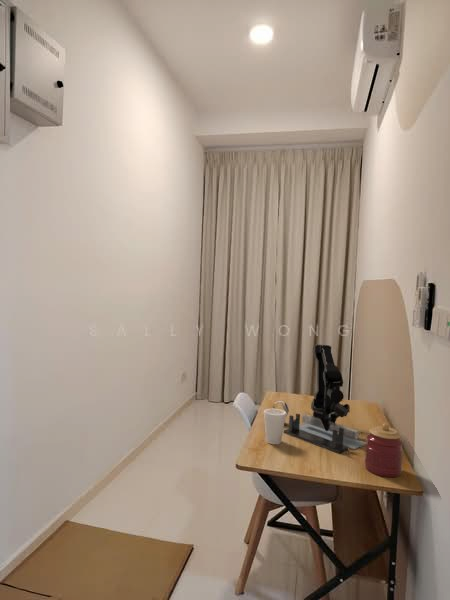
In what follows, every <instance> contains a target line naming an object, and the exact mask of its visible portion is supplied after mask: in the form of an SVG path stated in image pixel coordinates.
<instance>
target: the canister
mask: <svg viewBox="0 0 450 600" xmlns="http://www.w3.org/2000/svg"><path fill="white" fill-rule="evenodd" d="M368 432H369V433H368V434H367V435H366V436H365V437H366V439H367V442H365V443H366V445H365V446H366V447H365V458H364V465H365V469H366V470H367V471H368V472H370V473H371V474H374V475H376V476H380V477H385V478H396V477H399V476H400V475H401V473H402V470H403V467H402V464H403V453H404V451H403V448H402V447H403V445H404V440H403V439H402V438H401V437H402V434H401V433H400V432H398V430H397V429H395V428H393V427H390V425H389V424H388V423H385V422H384V423H382V425H376V426H373V427H371V428H370V429H368Z"/></svg>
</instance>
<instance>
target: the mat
mask: <svg viewBox="0 0 450 600" xmlns="http://www.w3.org/2000/svg"><path fill="white" fill-rule="evenodd" d="M299 429H300V430H302V431H305V432H308V433H311V434H313V435H316V436H319V437H322V438H324V439H327V440H330V441H332V437H333V432H331V431H325V429H322V428H319V427H317V426H314V425H311V424H308V423H303V424H299ZM366 443H367V442H365V441H361V440H360V439H359V440H358V439H352V438H349V437H346V436H343V445H344V446H347V447H348V449H350V450H352V449H353V450H354V451H355V450H357V449H360V448H361V447H364V446H366ZM359 447H360V448H359Z"/></svg>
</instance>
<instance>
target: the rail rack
mask: <svg viewBox="0 0 450 600" xmlns="http://www.w3.org/2000/svg"><path fill="white" fill-rule="evenodd" d="M288 417H289V419H288V428H287V429H283V434H286V435H289V436H291V437H294V438H297V439H299V440H302V441H305V442H307V443H309V444H312V445H315V446H318V447H320V448H322V449H325V450H328V451H330V452H334V453H336V454H338V455H339V454H341V453H344V452H346V451H349V448H348V447H347V446H344V445H343V434H344V429H343V428H339V434H337V432H338V431H336V430H333V437H332V441H330V440H327V439H324V438H322V437H319V436H316V435H313V434H311V433H308V432H305V431H302V430H300V429H299V425H301V424H300V421H301V414H300V413H295V417H294V415H292V414H290V415H289V416H288ZM294 418H295V419H294Z"/></svg>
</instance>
